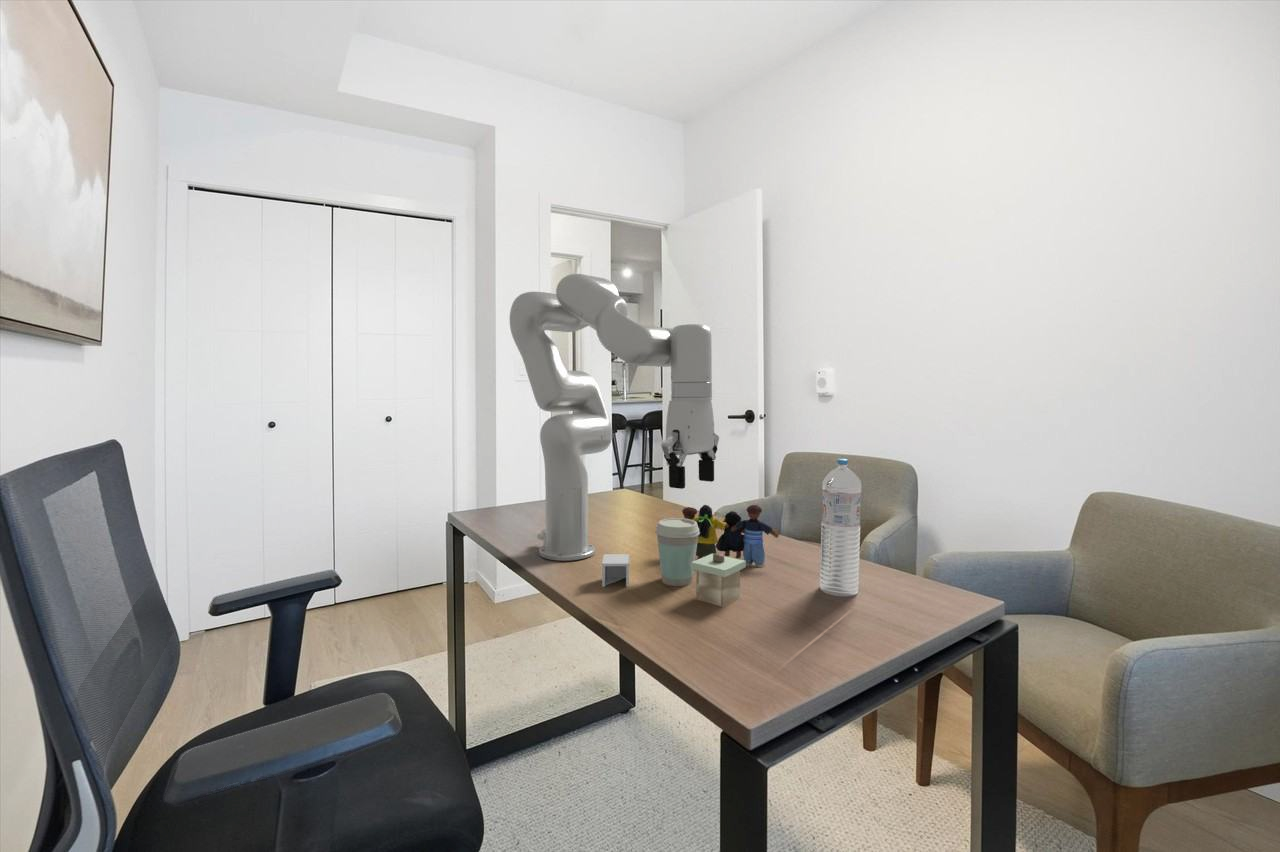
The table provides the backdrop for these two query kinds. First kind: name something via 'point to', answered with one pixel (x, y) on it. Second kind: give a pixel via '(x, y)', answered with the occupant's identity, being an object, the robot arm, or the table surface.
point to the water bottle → (840, 532)
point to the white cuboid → (615, 568)
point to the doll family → (731, 534)
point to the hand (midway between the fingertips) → (692, 484)
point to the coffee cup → (677, 550)
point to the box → (717, 588)
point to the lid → (718, 564)
